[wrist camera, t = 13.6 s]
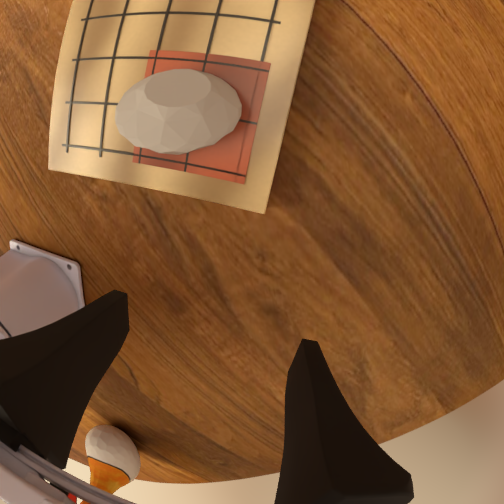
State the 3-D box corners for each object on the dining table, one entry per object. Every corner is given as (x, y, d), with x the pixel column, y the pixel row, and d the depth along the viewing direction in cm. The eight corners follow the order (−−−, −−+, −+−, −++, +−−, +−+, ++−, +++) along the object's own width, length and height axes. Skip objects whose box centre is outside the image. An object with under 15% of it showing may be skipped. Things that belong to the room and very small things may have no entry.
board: (60, 165, 19) (47, 170, 18) (95, -30, 12) (84, -36, 11) (266, 207, 19) (264, 215, 17) (322, -29, 12) (324, -39, 10)
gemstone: (112, 192, 15) (88, 127, 10) (145, 114, 17) (138, 51, 13) (224, 208, 16) (235, 143, 11) (239, 126, 18) (252, 62, 13)
